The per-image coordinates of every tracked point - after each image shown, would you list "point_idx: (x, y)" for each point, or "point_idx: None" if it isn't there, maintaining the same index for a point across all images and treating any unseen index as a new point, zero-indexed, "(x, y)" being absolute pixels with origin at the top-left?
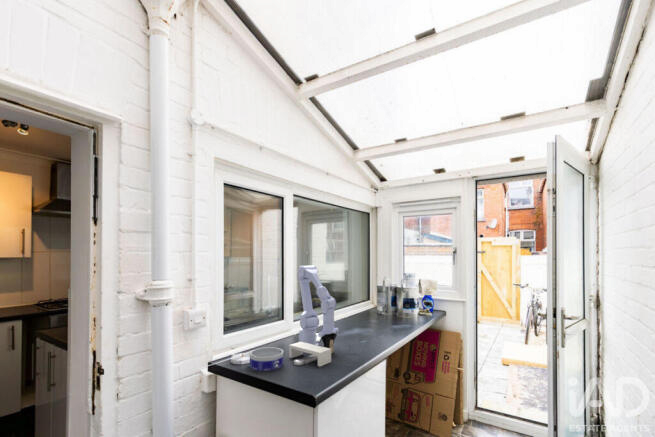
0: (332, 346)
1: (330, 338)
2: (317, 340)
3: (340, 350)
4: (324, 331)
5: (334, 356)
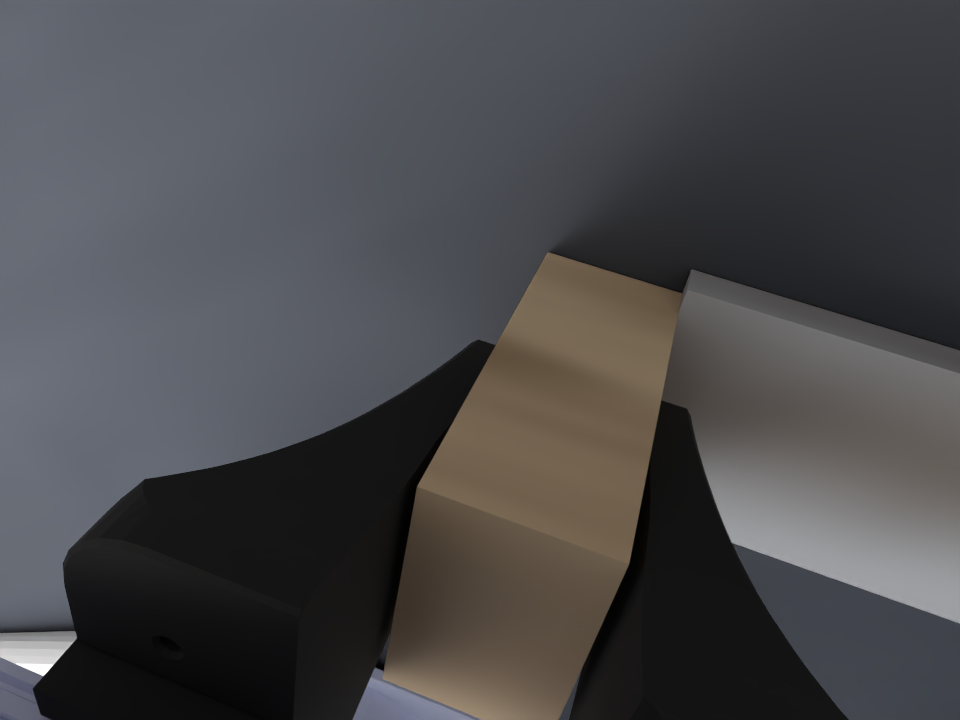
0: (532, 353)
1: (377, 601)
2: None
3: (267, 139)
4: None
5: (892, 84)
